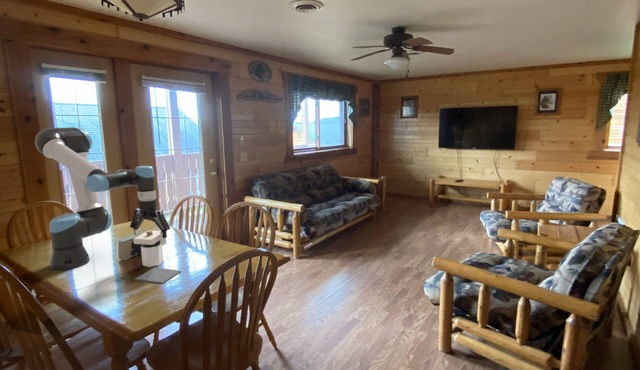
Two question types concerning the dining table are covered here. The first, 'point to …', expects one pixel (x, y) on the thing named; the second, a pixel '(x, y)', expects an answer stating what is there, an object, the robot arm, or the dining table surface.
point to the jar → (152, 254)
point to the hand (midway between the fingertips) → (151, 243)
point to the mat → (158, 275)
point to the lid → (148, 237)
